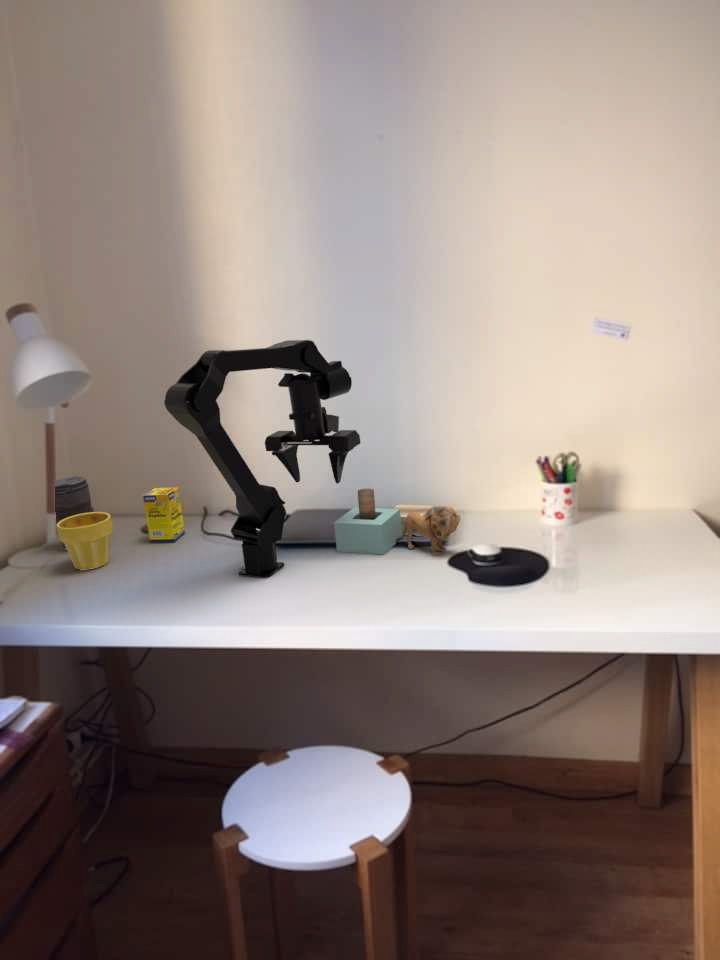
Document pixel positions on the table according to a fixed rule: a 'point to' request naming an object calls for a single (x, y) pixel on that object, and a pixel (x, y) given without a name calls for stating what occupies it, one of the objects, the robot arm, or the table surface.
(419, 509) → the pedestal
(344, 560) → the table surface
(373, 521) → the socket block
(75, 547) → the plant pot
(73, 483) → the camera lens
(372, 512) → the pin
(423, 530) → the lion figurine
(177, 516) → the supplement box
